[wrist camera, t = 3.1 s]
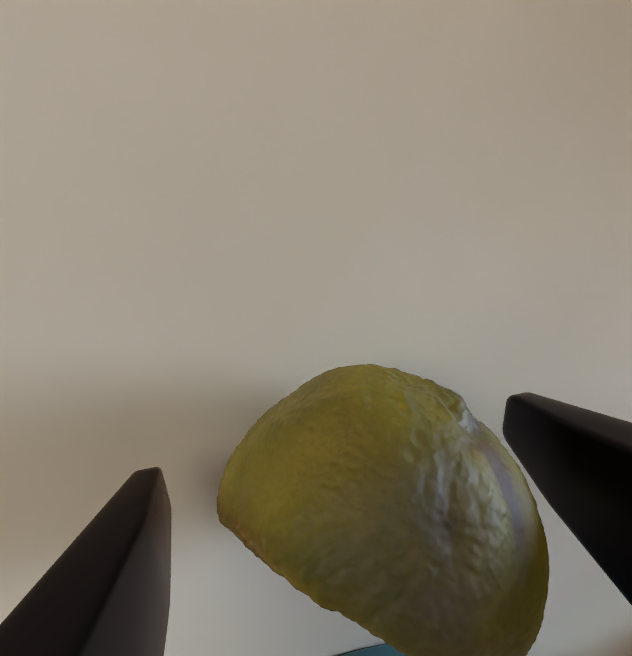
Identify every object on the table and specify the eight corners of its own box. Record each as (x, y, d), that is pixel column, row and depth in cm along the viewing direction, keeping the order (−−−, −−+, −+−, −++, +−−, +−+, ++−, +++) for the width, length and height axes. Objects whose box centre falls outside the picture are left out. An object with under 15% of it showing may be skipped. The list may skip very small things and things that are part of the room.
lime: (433, 470, 10) (614, 716, 6) (238, 521, 9) (266, 862, 5) (438, 301, 8) (703, 460, 4) (198, 344, 8) (182, 615, 3)
